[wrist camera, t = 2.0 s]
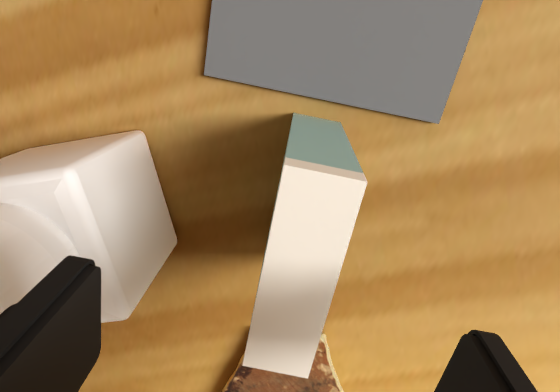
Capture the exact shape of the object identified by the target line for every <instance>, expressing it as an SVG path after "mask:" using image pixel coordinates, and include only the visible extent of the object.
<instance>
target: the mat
mask: <svg viewBox="0 0 560 392" xmlns="http://www.w3.org/2000/svg"><path fill="white" fill-rule="evenodd" d="M482 2H483V0H212V6H211V15H210V24H209V33H208V42H207V51H206V60H205V69H204V75H207V76H211V77H216V78H221V79H226V80H231V81H235V82H240V83H245V84H250V85H255V86H259V87H264V88H269V89H274V90H279V91H283V92H288V93H293V94H298V95H303V96H307V97H312V98H317V99H322V100H327V101H331V102H336V103H341V104H346V105H351V106H356V107H360V108H365V109H370V110H375V111H380V112H384V113H389V114H394V115H399V116H404V117H408V118H413V119H418V120H423V121H428V122H432V123H437V124H439V122H440V119H441V116H442V113H443V111H444V108H445V105H446V102H447V99H448V97H449V94H450V91H451V88H452V85H453V83H454V80H455V77H456V74H457V71H458V69H459V66H460V63H461V60H462V58H463V55H464V52H465V49H466V46H467V44H468V41H469V38H470V35H471V32H472V30H473V27H474V24H475V21H476V18H477V16H478V13H479V10H480V7H481V4H482Z"/></svg>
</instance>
